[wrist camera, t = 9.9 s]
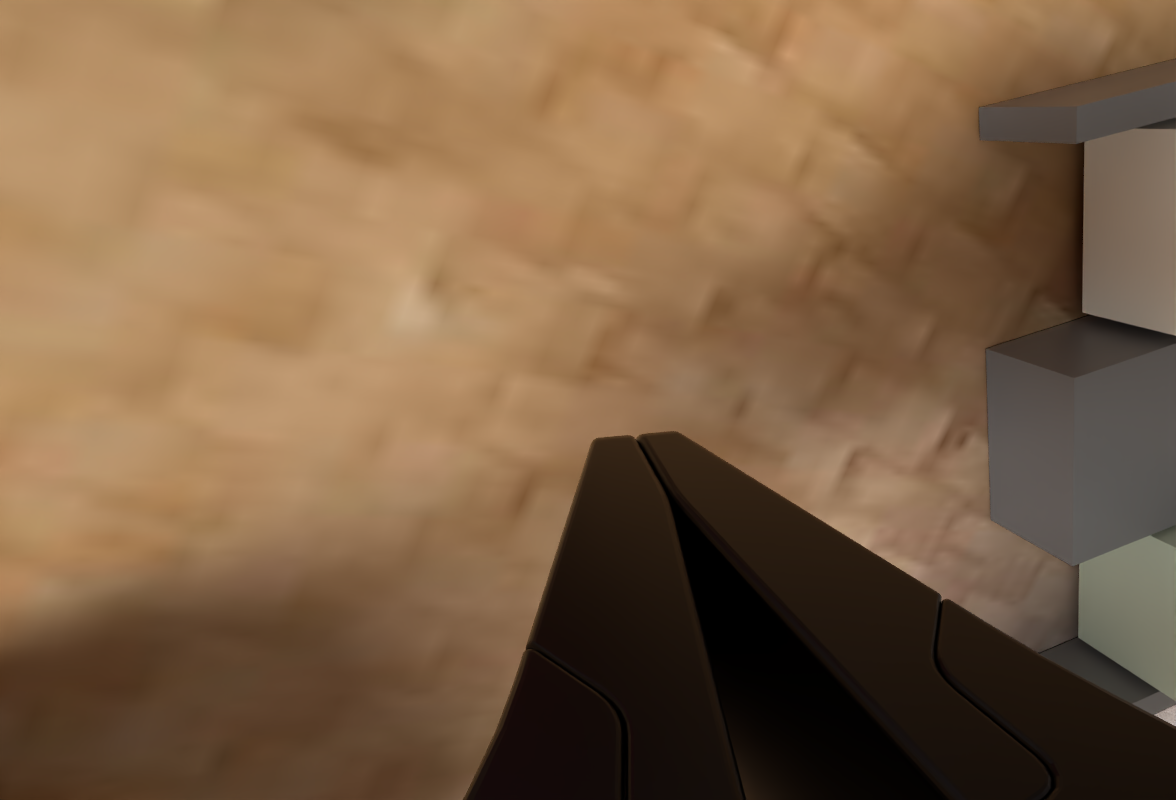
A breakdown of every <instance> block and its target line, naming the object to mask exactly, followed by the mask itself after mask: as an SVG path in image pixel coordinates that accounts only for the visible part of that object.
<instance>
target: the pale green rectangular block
mask: <svg viewBox="0 0 1176 800" xmlns="http://www.w3.org/2000/svg"><path fill="white" fill-rule="evenodd" d="M1078 638H1080V639H1081V640H1083V641H1084V642H1086V643H1087V644H1089V645H1090V646H1092V647H1093V648H1095V649H1097V650H1098V651H1100V652H1101V653H1103V654H1104V655H1106V656H1107V657H1109V658H1110V659H1112V660H1113V661H1115V662H1116V663H1118V664H1119V665H1121V666H1122V667H1124V668H1125V669H1127V670H1129V671H1130V672H1132V673H1133V674H1135V675H1136V676H1138V677H1139V678H1141V679H1142V680H1144V681H1145V682H1147V683H1148V684H1150V685H1151V686H1153V687H1154V688H1156V689H1158V690H1159V691H1161V692H1162V693H1164V694H1165V695H1167V696H1168V697H1170V698H1171V699H1173V700H1174V701H1176V525H1174V526H1172V527H1169V528H1167V529H1164V530H1162V531H1159V532H1157V533H1154V534H1152V535H1149V536H1147V537H1144V538H1142V539H1140V540H1137V541H1135V542H1132V543H1130V544H1127V545H1125V546H1122V547H1120V548H1117V549H1115V550H1112V551H1110V552H1107V553H1105V554H1102V555H1100V556H1097V557H1095V558H1092V559H1090V560H1087V561H1085V562H1082V563H1080V564H1079V618H1078Z"/></svg>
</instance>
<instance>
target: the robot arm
mask: <svg viewBox="0 0 1176 800" xmlns="http://www.w3.org/2000/svg"><path fill="white" fill-rule="evenodd" d="M463 800H1176V726H1174V725H1172V724H1170V723H1168V722H1166V721H1164V720H1162V719H1160V718H1158V717H1156V716H1154V715H1153V714H1151V713H1149V712H1147V711H1145V710H1143V709H1141V708H1139V707H1137V706H1135V705H1133V704H1131V703H1130V702H1128V701H1126V700H1124V699H1122V698H1120V697H1118V696H1116V695H1114V694H1112V693H1110V692H1109V691H1107V690H1105V689H1103V688H1101V687H1099V686H1098V685H1096V684H1094V683H1092V682H1090V681H1088V680H1087V679H1085V678H1083V677H1081V676H1079V675H1077V674H1075V673H1074V672H1072V671H1070V670H1068V669H1066V668H1064V667H1063V666H1061V665H1059V664H1057V663H1055V662H1053V661H1052V660H1050V659H1048V658H1046V657H1044V656H1042V655H1041V654H1039V653H1037V652H1036V651H1034V650H1032V649H1031V648H1029V647H1027V646H1025V645H1024V644H1022V643H1020V642H1019V641H1017V640H1015V639H1014V638H1012V637H1010V636H1009V635H1007V634H1005V633H1003V632H1002V631H1000V630H998V629H997V628H995V627H993V626H992V625H990V624H988V623H987V622H985V621H983V620H982V619H980V618H978V617H977V616H975V615H974V614H972V613H970V612H969V611H967V610H965V609H964V608H962V607H961V606H959V605H957V604H956V603H954V602H953V601H951V600H949V599H944V600H943V601H942V602H941V595H940V594H939V593H937V592H936V591H934V590H933V589H931V588H929V587H928V586H926V585H925V584H923V583H921V582H920V581H918V580H917V579H915V578H913V577H912V576H910V575H908V574H907V573H905V572H904V571H902V570H900V569H899V568H897V567H896V566H894V565H892V564H891V563H889V562H887V561H886V560H884V559H883V558H881V557H879V556H878V555H876V554H875V553H873V552H871V551H870V550H868V549H866V548H865V547H863V546H862V545H860V544H858V543H857V542H855V541H854V540H852V539H850V538H849V537H847V536H845V535H844V534H842V533H841V532H839V531H837V530H836V529H834V528H833V527H831V526H829V525H828V524H826V523H824V522H823V521H821V520H820V519H818V518H816V517H815V516H813V515H812V514H810V513H808V512H807V511H805V510H804V509H802V508H800V507H799V506H797V505H795V504H794V503H792V502H791V501H789V500H787V499H786V498H784V497H783V496H781V495H779V494H778V493H776V492H774V491H773V490H771V489H770V488H768V487H766V486H765V485H763V484H762V483H760V482H758V481H757V480H755V479H753V478H752V477H750V476H749V475H747V474H745V473H744V472H742V471H741V470H739V469H737V468H736V467H734V466H732V465H731V464H729V463H728V462H726V461H724V460H723V459H721V458H720V457H718V456H716V455H715V454H713V453H711V452H710V451H708V450H707V449H705V448H703V447H702V446H700V445H699V444H697V443H695V442H694V441H692V440H690V439H689V438H687V437H686V436H684V435H682V434H680V433H678V432H674V431H670V432H659V433H648V434H642V435H639V436H638V437H637V439H635V438H634V437H632V436H629V435H626V436H614V437H603V438H596V439H595V440H593V442H592V443H591V446H590V449H589V452H588V455H587V458H586V462H585V465H584V468H583V471H582V474H581V477H580V480H579V483H578V486H577V490H576V493H575V496H574V499H573V502H572V505H571V508H570V511H569V514H568V518H567V521H566V524H565V527H564V530H563V533H562V536H561V539H560V542H559V546H558V549H557V552H556V555H555V558H554V561H553V564H552V567H551V570H550V574H549V577H548V580H547V583H546V586H545V589H544V592H543V595H542V598H541V602H540V605H539V608H538V611H537V614H536V617H535V620H534V623H533V626H532V630H531V633H530V636H529V639H528V642H527V645H526V651H525V652H524V653H523V656H522V659H521V662H520V665H519V668H518V671H517V674H516V677H515V680H514V683H513V686H512V689H511V692H510V694H509V697H508V700H507V702H506V705H505V708H504V710H503V713H502V716H501V718H500V721H499V724H498V726H497V729H496V732H495V734H494V736H493V738H492V740H491V742H490V745H489V747H488V749H487V751H486V753H485V755H484V757H483V760H482V762H481V764H480V766H479V768H478V770H477V772H476V775H475V777H474V779H473V781H472V783H471V785H470V787H469V789H468V791H467V793H466V795H465V797H464V799H463Z"/></svg>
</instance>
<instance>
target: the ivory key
mask: <svg viewBox="0 0 1176 800" xmlns="http://www.w3.org/2000/svg"><path fill="white" fill-rule="evenodd" d="M1082 313H1086V314H1090V315H1094V316H1098V317H1102V318H1106V319H1110V320H1114V321H1119V322H1123V323H1127V324H1131V325H1135V326H1139V327H1143V328H1147V329H1151V330H1155V331H1159V332H1163V333H1167V334H1171V335H1175V336H1176V117H1175V118H1172V119H1168V120H1164V121H1160V122H1157V123H1153V124H1149V125H1145V126H1142V127H1138V128H1134V129H1130V130H1127V131H1123V132H1119V133H1115V134H1112V135H1108V136H1104V137H1101V138H1097V139H1093V140H1089V141H1086V142H1084V216H1083V297H1082Z"/></svg>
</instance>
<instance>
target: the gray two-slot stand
mask: <svg viewBox="0 0 1176 800" xmlns="http://www.w3.org/2000/svg"><path fill="white" fill-rule="evenodd" d="M1175 117H1176V59H1173V60H1169V61H1164V62H1160V63H1156V64H1152V65H1148V66H1144V67H1140V68H1136V69H1132V70H1128V71H1124V72H1120V73H1116V74H1112V75H1108V76H1104V77H1100V78H1096V79H1092V80H1088V81H1084V82H1079V83H1075V84H1071V85H1067V86H1063V87H1059V88H1055V89H1051V90H1047V91H1043V92H1039V93H1035V94H1031V95H1027V96H1023V97H1019V98H1015V99H1011V100H1007V101H1003V102H999V103H995V104H990V105H986V106H982V107H979V127H980V140H987V141H1013V142H1039V143H1065V144H1078V143H1082V142H1086V141H1089V140H1093V139H1097V138H1101V137H1104V136H1108V135H1112V134H1115V133H1119V132H1123V131H1127V130H1130V129H1134V128H1138V127H1142V126H1145V125H1149V124H1153V123H1157V122H1160V121H1164V120H1168V119H1172V118H1175ZM986 370H987V405H988V440H989V474H990V509H991V520H992V521H994V522H995V523H997V524H999V525H1001V526H1002V527H1004V528H1006V529H1008V530H1009V531H1011V532H1013V533H1015V534H1016V535H1018V536H1020V537H1022V538H1023V539H1025V540H1027V541H1029V542H1030V543H1032V544H1034V545H1036V546H1037V547H1039V548H1041V549H1043V550H1044V551H1046V552H1048V553H1050V554H1051V555H1053V556H1055V557H1057V558H1058V559H1060V560H1062V561H1064V562H1066V563H1067V564H1069V565H1071V566H1075V565H1077V564H1080V563H1082V562H1085V561H1087V560H1090V559H1092V558H1095V557H1097V556H1100V555H1102V554H1105V553H1107V552H1110V551H1112V550H1115V549H1117V548H1120V547H1122V546H1125V545H1127V544H1130V543H1132V542H1135V541H1137V540H1140V539H1142V538H1144V537H1147V536H1149V535H1152V534H1154V533H1157V532H1159V531H1162V530H1164V529H1167V528H1169V527H1172V526H1174V525H1176V336H1175V335H1171V334H1167V333H1163V332H1159V331H1155V330H1151V329H1147V328H1143V327H1139V326H1135V325H1131V324H1127V323H1123V322H1119V321H1114V320H1110V319H1106V318H1102V317H1098V316H1094V315H1089V316H1086V317H1083V318H1080V319H1077V320H1073V321H1070V322H1067V323H1064V324H1061V325H1058V326H1055V327H1052V328H1049V329H1046V330H1043V331H1039V332H1036V333H1033V334H1030V335H1027V336H1024V337H1021V338H1018V339H1015V340H1012V341H1009V342H1005V343H1002V344H999V345H996V346H993V347H990V348H987V349H986ZM1040 654H1041V655H1042V656H1044V657H1046V658H1048V659H1050V660H1052V661H1053V662H1055V663H1057V664H1059V665H1061V666H1063V667H1064V668H1066V669H1068V670H1070V671H1072V672H1074V673H1075V674H1077V675H1079V676H1081V677H1083V678H1085V679H1087V680H1088V681H1090V682H1092V683H1094V684H1096V685H1098V686H1099V687H1101V688H1103V689H1105V690H1107V691H1109V692H1110V693H1112V694H1114V695H1116V696H1118V697H1120V698H1122V699H1124V700H1126V701H1128V702H1130V703H1131V704H1133V705H1135V706H1137V707H1139V708H1141V709H1143V710H1145V711H1147V712H1149V713H1151V714H1153V715H1154V714H1157V713H1159V712H1161V711H1163V710H1165V709H1167V708H1169V707H1172V706H1174V705H1176V701H1174V700H1173V699H1171V698H1170V697H1168V696H1167V695H1165V694H1164V693H1162V692H1161V691H1159V690H1158V689H1156V688H1154V687H1153V686H1151V685H1150V684H1148V683H1147V682H1145V681H1144V680H1142V679H1141V678H1139V677H1138V676H1136V675H1135V674H1133V673H1132V672H1130V671H1129V670H1127V669H1125V668H1124V667H1122V666H1121V665H1119V664H1118V663H1116V662H1115V661H1113V660H1112V659H1110V658H1109V657H1107V656H1106V655H1104V654H1103V653H1101V652H1100V651H1098V650H1097V649H1095V648H1093V647H1092V646H1090V645H1089V644H1087V643H1086V642H1084V641H1083V640H1081V639H1080V638H1078V637H1077V638H1075V639H1073V640H1070V641H1068V642H1066V643H1063V644H1061V645H1059V646H1056V647H1054V648H1052V649H1049V650H1047V651H1045V652H1042V653H1040Z"/></svg>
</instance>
